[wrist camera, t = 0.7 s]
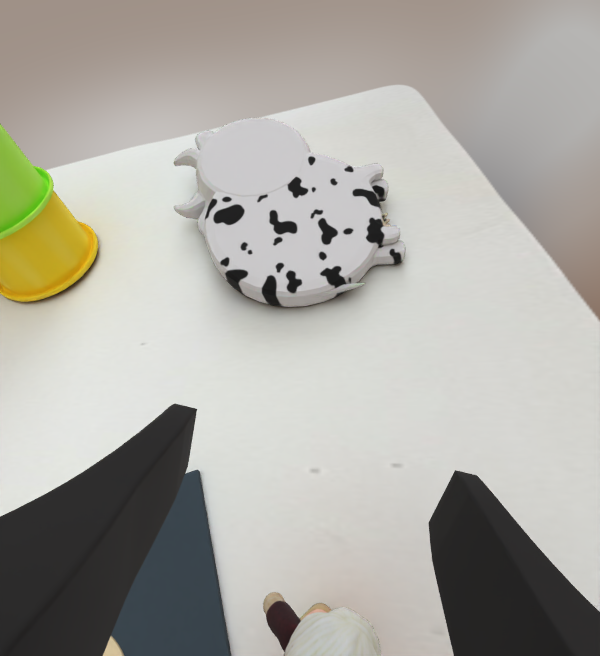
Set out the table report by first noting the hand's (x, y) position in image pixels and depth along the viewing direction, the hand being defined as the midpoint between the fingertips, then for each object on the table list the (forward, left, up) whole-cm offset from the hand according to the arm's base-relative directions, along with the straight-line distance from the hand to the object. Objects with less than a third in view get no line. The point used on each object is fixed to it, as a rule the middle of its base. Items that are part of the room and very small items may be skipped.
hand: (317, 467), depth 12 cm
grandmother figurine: (-5, +2, -18) cm, 18 cm away
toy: (+28, -4, -18) cm, 34 cm away
